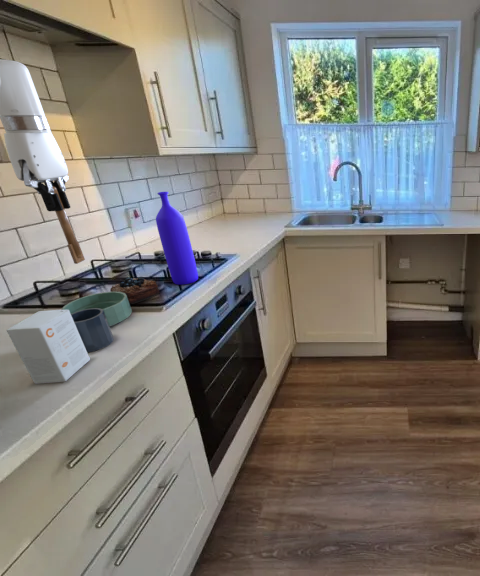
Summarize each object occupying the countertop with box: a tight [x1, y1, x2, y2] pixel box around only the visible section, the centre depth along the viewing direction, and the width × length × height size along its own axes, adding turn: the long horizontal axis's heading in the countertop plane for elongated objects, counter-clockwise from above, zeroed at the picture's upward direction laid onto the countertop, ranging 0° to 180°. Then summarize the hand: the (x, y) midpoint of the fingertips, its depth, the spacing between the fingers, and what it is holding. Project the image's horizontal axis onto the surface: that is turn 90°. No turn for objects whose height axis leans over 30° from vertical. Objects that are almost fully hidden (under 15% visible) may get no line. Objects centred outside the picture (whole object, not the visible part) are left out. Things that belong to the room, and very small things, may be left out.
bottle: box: [155, 191, 199, 286], centre depth 119 cm, size 8×8×30 cm
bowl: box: [60, 291, 133, 327], centre depth 98 cm, size 14×14×6 cm
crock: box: [71, 308, 115, 353], centre depth 86 cm, size 7×7×8 cm
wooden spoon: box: [52, 186, 86, 265], centre depth 88 cm, size 2×3×19 cm, turn 6°
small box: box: [6, 309, 91, 385], centre depth 75 cm, size 8×6×13 cm
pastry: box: [109, 276, 160, 305], centre depth 113 cm, size 11×12×6 cm
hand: (59, 209), depth 87 cm, fingers closed on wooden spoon, 1 cm apart
